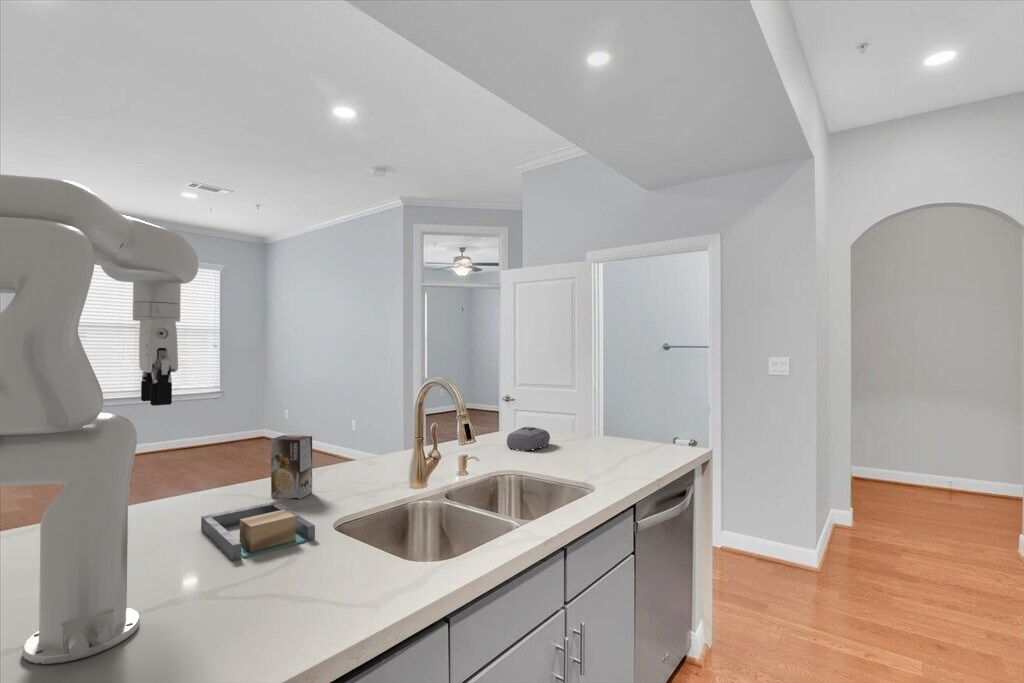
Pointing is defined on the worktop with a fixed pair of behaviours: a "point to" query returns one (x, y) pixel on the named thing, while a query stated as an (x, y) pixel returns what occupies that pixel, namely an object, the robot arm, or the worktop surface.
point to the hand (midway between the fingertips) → (155, 402)
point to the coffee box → (291, 466)
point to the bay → (218, 521)
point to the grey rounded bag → (528, 438)
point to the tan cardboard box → (267, 530)
